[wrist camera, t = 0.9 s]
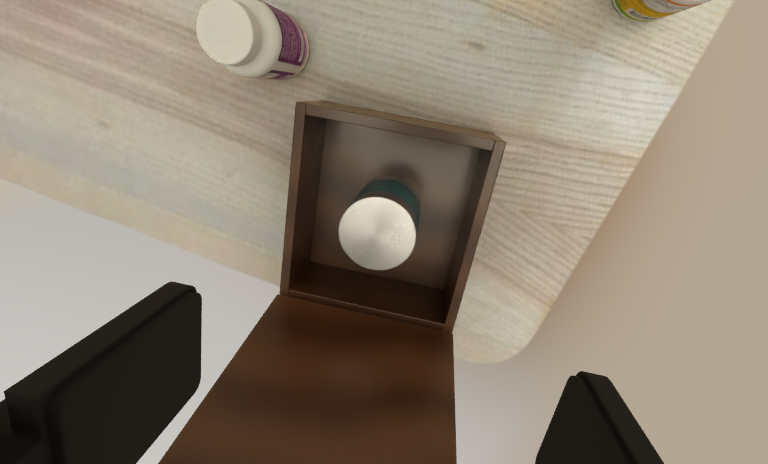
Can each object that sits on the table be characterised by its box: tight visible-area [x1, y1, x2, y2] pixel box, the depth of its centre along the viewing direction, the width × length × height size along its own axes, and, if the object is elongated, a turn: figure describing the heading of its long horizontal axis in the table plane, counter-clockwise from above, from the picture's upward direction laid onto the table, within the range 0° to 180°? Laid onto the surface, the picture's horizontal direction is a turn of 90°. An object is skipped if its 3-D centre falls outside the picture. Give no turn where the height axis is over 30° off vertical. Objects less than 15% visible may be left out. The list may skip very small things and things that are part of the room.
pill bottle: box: [196, 0, 309, 80], centre depth 29 cm, size 5×5×10 cm
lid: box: [158, 295, 456, 464], centre depth 26 cm, size 17×16×5 cm
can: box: [338, 175, 421, 270], centre depth 33 cm, size 6×6×8 cm
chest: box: [280, 101, 506, 334], centre depth 34 cm, size 17×16×7 cm
